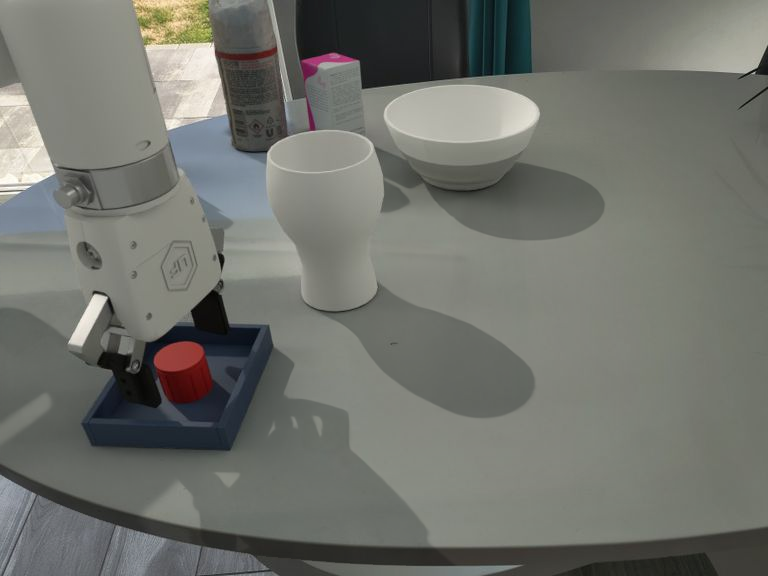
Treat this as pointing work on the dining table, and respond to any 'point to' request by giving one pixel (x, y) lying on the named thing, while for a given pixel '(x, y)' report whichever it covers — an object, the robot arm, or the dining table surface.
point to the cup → (328, 212)
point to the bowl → (461, 133)
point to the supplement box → (334, 93)
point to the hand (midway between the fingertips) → (180, 364)
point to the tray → (195, 419)
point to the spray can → (249, 72)
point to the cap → (183, 372)
